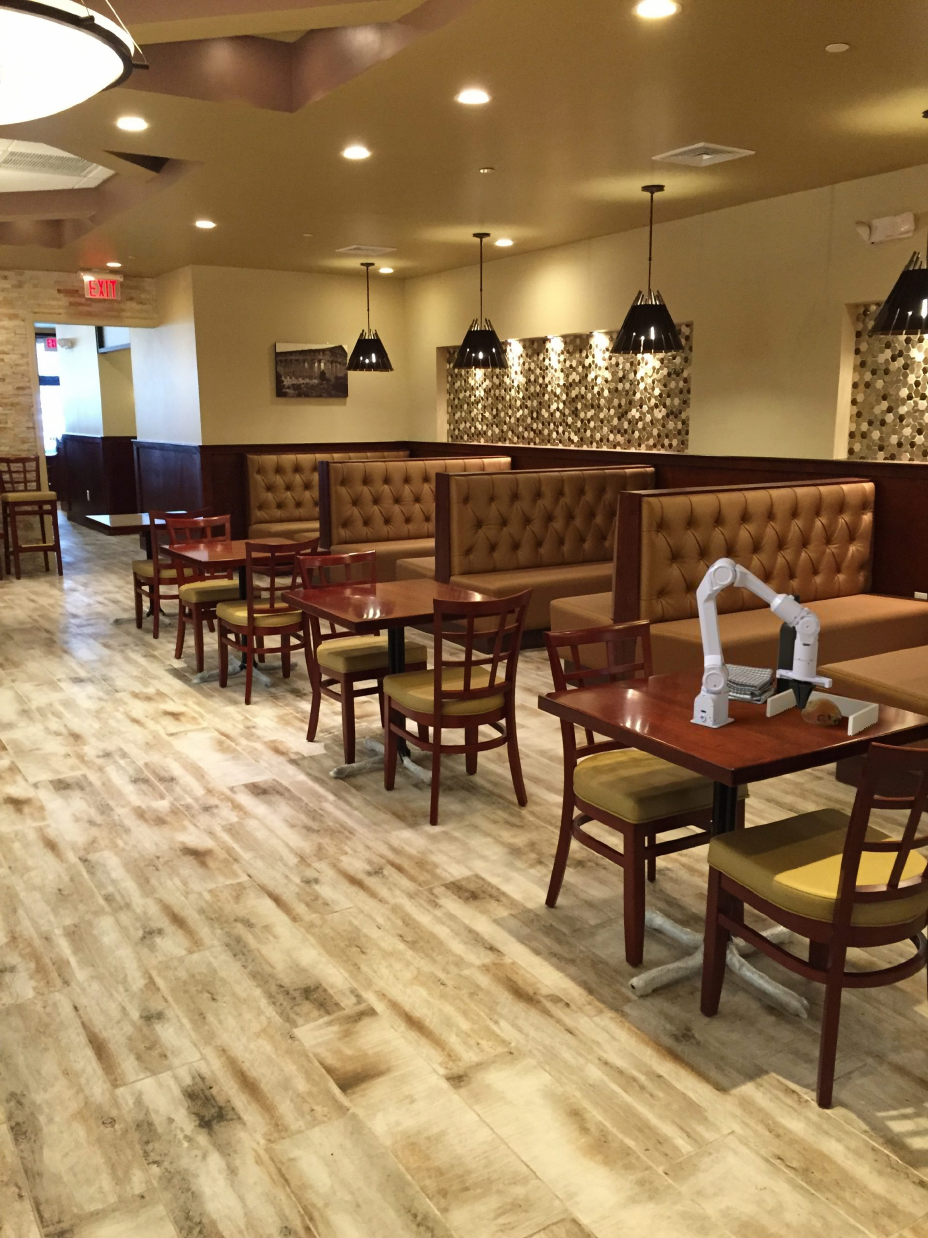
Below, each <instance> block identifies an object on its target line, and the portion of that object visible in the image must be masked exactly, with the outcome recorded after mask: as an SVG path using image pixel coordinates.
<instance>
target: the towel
mask: <svg viewBox="0 0 928 1238" xmlns="http://www.w3.org/2000/svg"><path fill="white" fill-rule="evenodd" d="M725 665H726V666H727V668H728V670H729V677H728V679H727V684H726V685H727V687H728V688H729V700H731V701H740V702H746V703H752V704H753V703H754V704H759V705H761V704H764V702H766V700H767V699H768V698H771V697H772V696H773V695H774V694H776V688H773V686H774V685H775V684H774V683H775V681H776V679H775V677H773V675H774V673H775V672H774V670H773V669H772V668H762V667H760V668H759V667H752V666H745V665H738V664H732V663H731V664H730V663H728V664H727V663H725ZM701 683H703V681H702V680H701Z"/></svg>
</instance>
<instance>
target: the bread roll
mask: <svg viewBox="0 0 928 1238" xmlns="http://www.w3.org/2000/svg"><path fill="white" fill-rule="evenodd" d="M801 718H802V721H804V722H807V723H810V724H812V725H816V726H827V727H829V726H836V725H838V724H839V723H840V722H841V719H842V714H841V711H840V709H839V708H838V706H837V705H836V704H835V703H834V702H833V701H831V700H829V699H826V698H818V699H813V700H810V701H809V702H807V705H806V708H805V709H803V710H801Z"/></svg>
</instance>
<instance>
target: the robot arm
mask: <svg viewBox="0 0 928 1238" xmlns="http://www.w3.org/2000/svg"><path fill="white" fill-rule="evenodd" d="M732 583H734V584H733V587H735V588H737V587H738V588H740V587H741V588H743V587H744V588H746V589H747V590H749V591H751V592H752V593H753V594H755V595H756V596H758V598H761V599H762V600H763V601H765V602H766V603H768V604H769V605H770V611H771V612H772V613H773V614H775V615H776V616H777V617H778V618H780V619H781V620H783V622H784V621H785V622H787V623H788V624H789V625H791V626H795V627H796V631H797V638H796V640H795V648H794V661H793V671H790V670H782V669H779V670H777V669H776V675H775V676H776V679H777V678H786V679H791V680H792V683H790V686H791V688H792V690H793V692H794V695H795V699H796V703H797V706H796V709H797V710H801V711H802V710H803V709H805V708H806V705H807V702H808V699H809V697H810V695H811V693H812V691H815V690H814V689H816V686H821V687H824V688H827V689H829V688H831V687H833V686H832V685H833V679H832V678H827V677H824V676H821V675H818V674H817V660H818V653H819V652H818V648H819V641H818V640H819V633H820V630H821V625H820V623H821V622H820V619H819V616H818V615H817V614H816V613H815V612H814V611H813V610H810V608H808V607H807V606H806V607H804V606H803V605H802V604H800V602H799V603H797V602H796V601H795V600H794V597H793V596H792V595H790V594H786V593H781V594H779V593H777V592H776V591H775V590H773V589H772V588H771V587H770V586H768V585H767V584H766V583H764V582H763V581H762V580H761V579H760V578H758V577H757V576H756V575H754V574H753V573H752V572H751V571H749V570H748V569H746V568H745V567H744V566H742V565H740V564H739V563H737V564H736V563H735V561H734V560H733V559H731V558H727V557H722V558H719V559H718V560H717V561H715V562H714V563H713V564H712V565H711V566H710V567H709V568H708V570H707V572H706V573H705V575H704V577H703V579H702V581H701V582H700V584H699V586H698V588H697V589H696V602H697V608H698V616H699V617H698V618H699V625H700V631H701V632H700V633H701V639H702V640H701V641H702V648H703V649H702V650H703V656H704V657H703V658H704V661H703V662H704V664H703V666H704V668H703V669H704V673H703V676H702V679H701V682H702V681H703V682H702V685H701V689H700V693H699V694H698V695H696V697H695V699H694V702H693V703H694V704H693V718H692V719H691V720H690V723H693V724H697V725H700V726H706V727H710V728H713V729H718V728H720V727H722V726H725V725H727V724H730V723H732V722H734V721H735V719H734V718H731V717H729V700H730V699H729V688H728V687H727V685H726V684H727V679H728V677H729V670H728V668H727V666H726V663H725V659H724V655H723V650H722V643H721V633H720V625H719V618H718V609H717V599H716V596H717V595H718V594H719V593H720V592H721V590H722V589H725V588H726V587H728V586H730V585H731V584H732ZM789 595H790V596H789Z"/></svg>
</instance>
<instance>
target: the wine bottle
mask: <svg viewBox="0 0 928 1238" xmlns="http://www.w3.org/2000/svg"><path fill="white" fill-rule="evenodd" d="M790 595H792V596H793V597H794V600H795V601H796V602H797V603H799V604H800V599H801V598H800V597H801V595H800V594H796V593H792V594H788V596H790ZM778 633H779V634H778V652H777V667H776V671H777V670H779V669H782V670H790V671H793V661H794V648H795V640H796V638H797V631H796V627H795V626H791V625H789V624H788V623H787V622H785V621H784V620H783V622H782V624H781V625H780V628H779V632H778ZM775 681H776V682H775V684H776V685H775V694H776V695H778V694H780V693H783V692H785V691H788V690H790V689H792V688H791V686H790V683H792V680H791V679H786V678H777V677H776V680H775Z"/></svg>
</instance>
